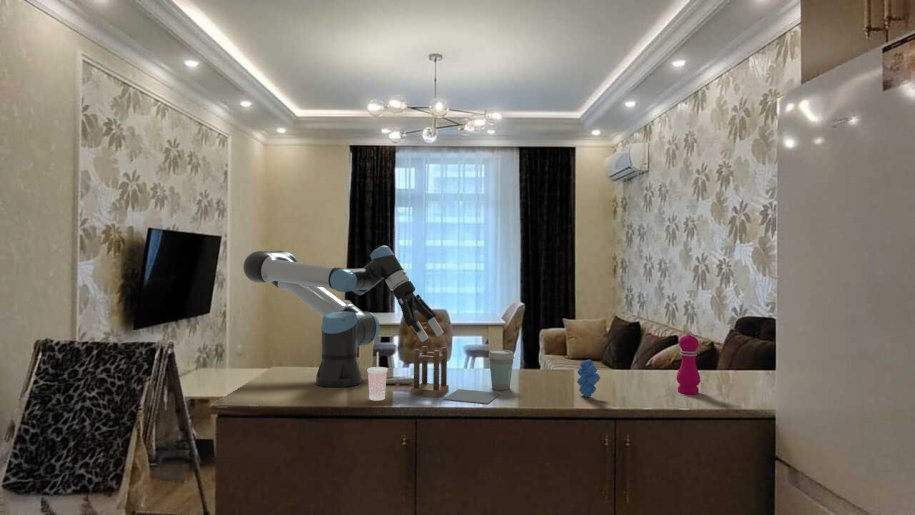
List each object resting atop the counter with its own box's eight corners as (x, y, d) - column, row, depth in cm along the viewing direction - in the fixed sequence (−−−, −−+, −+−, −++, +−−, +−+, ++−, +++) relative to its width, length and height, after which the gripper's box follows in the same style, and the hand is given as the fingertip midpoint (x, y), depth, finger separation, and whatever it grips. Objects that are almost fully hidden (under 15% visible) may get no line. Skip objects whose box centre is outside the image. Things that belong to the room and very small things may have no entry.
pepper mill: (699, 390, 193) (700, 329, 193) (700, 395, 186) (701, 332, 186) (676, 389, 195) (676, 328, 195) (676, 393, 188) (677, 331, 188)
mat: (443, 399, 177) (443, 398, 177) (458, 390, 190) (458, 389, 190) (488, 404, 172) (488, 403, 172) (500, 393, 185) (500, 392, 185)
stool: (411, 394, 183) (411, 349, 183) (422, 388, 191) (422, 345, 191) (438, 397, 180) (438, 351, 180) (448, 391, 189) (449, 347, 188)
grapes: (608, 401, 177) (608, 361, 177) (586, 402, 176) (587, 362, 176) (592, 392, 189) (593, 355, 188) (572, 393, 187) (573, 355, 187)
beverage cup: (389, 396, 180) (390, 351, 180) (383, 401, 174) (384, 354, 174) (370, 395, 181) (371, 350, 181) (364, 400, 175) (364, 353, 175)
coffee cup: (512, 391, 189) (512, 354, 189) (486, 390, 190) (486, 353, 190) (515, 386, 197) (515, 350, 197) (489, 384, 199) (490, 349, 199)
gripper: (392, 281, 193) (427, 336, 189) (423, 278, 216) (454, 327, 212) (376, 294, 195) (409, 348, 191) (408, 289, 219) (438, 338, 215)
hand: (433, 337), depth 202 cm, fingers open, 13 cm apart
